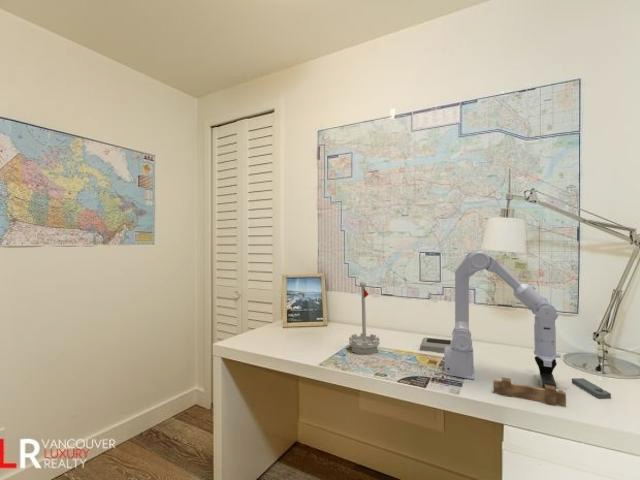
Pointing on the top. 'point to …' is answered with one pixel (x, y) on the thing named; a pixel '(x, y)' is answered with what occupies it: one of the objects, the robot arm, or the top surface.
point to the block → (547, 380)
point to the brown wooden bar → (530, 392)
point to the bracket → (591, 388)
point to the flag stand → (364, 332)
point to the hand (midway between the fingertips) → (545, 381)
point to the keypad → (434, 345)
